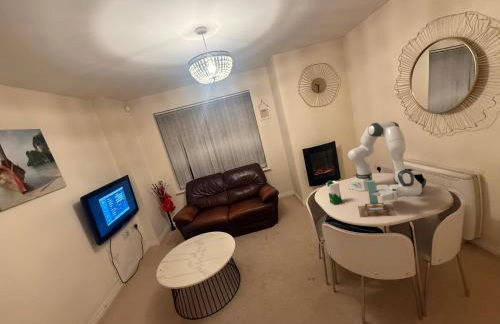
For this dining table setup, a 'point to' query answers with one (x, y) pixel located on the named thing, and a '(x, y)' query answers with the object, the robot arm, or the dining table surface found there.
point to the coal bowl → (419, 178)
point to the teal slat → (372, 189)
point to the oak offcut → (375, 206)
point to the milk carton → (334, 192)
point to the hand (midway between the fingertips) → (371, 193)
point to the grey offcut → (376, 209)
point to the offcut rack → (386, 211)
